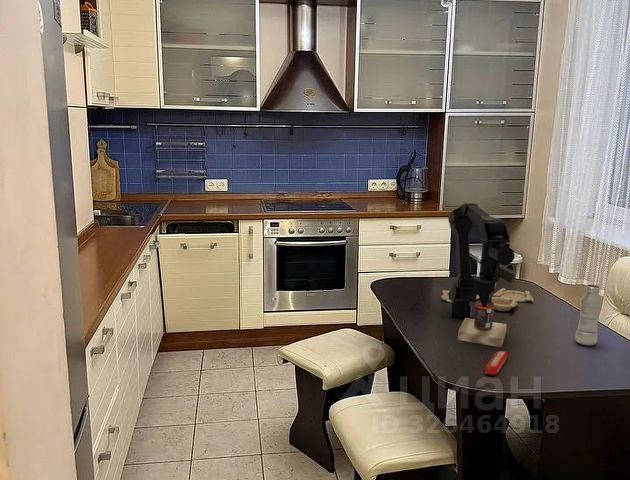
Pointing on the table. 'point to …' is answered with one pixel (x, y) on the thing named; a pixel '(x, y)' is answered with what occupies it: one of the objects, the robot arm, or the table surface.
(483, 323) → the supplement bottle
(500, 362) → the candy bar
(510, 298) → the tableware set
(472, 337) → the birch base block
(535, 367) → the table surface
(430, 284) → the table surface
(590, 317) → the plastic bottle
